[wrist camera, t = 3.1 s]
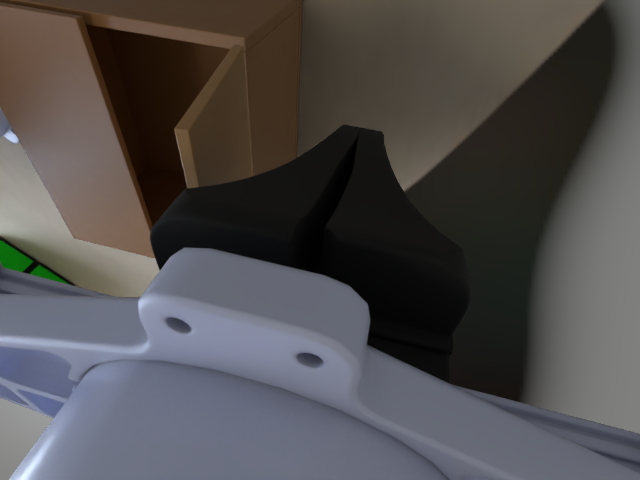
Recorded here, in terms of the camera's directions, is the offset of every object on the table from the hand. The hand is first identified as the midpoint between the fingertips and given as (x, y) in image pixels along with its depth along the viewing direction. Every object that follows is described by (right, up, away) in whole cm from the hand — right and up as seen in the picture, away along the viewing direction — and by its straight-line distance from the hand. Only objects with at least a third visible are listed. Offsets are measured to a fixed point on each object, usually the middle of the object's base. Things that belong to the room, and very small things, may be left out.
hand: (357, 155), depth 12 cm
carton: (-8, +6, +11) cm, 15 cm away
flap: (-5, -3, +3) cm, 6 cm away
